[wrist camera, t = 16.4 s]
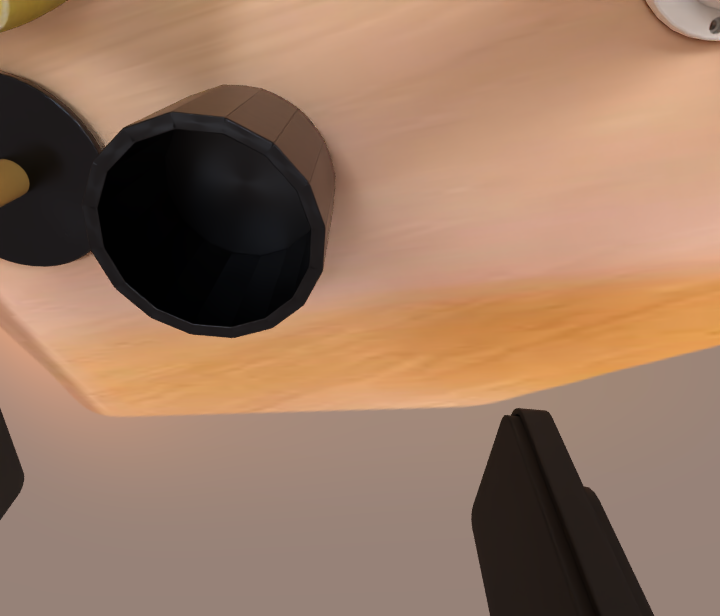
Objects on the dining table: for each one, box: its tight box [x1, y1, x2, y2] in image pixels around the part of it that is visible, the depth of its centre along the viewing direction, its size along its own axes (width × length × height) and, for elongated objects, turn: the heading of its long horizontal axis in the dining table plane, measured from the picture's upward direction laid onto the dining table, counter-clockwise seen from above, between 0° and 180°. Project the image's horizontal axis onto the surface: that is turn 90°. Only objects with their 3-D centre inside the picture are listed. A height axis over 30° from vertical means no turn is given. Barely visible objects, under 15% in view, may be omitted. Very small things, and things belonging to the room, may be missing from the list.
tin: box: [82, 85, 336, 338], centre depth 31 cm, size 13×13×10 cm
